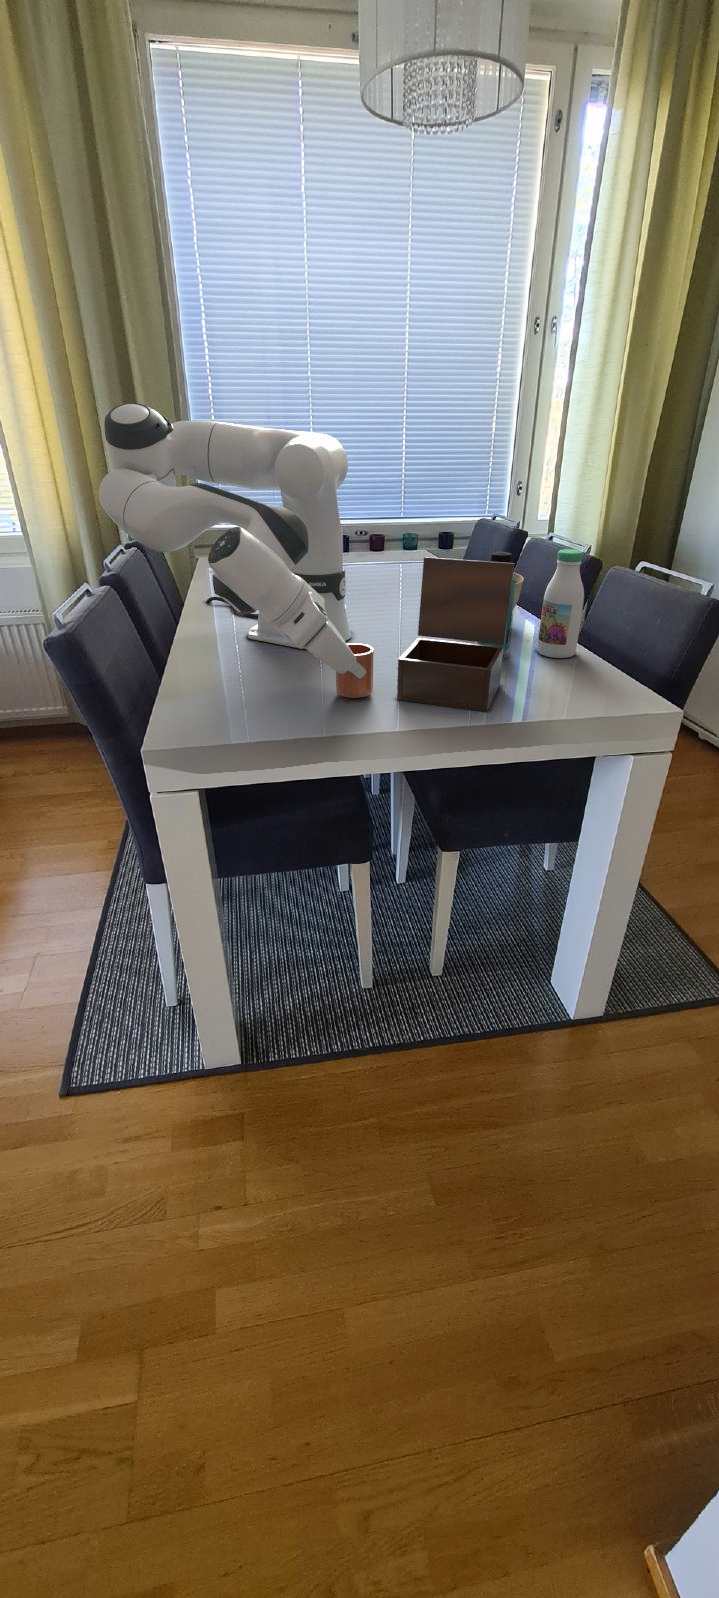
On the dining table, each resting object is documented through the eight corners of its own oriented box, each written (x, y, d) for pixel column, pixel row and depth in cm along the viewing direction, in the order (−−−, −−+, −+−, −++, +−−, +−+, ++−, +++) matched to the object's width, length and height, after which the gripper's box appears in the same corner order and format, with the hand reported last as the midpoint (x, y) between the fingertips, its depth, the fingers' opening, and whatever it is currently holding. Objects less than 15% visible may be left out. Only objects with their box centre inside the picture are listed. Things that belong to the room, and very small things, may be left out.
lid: (513, 563, 116) (517, 562, 120) (423, 557, 121) (430, 556, 125) (503, 644, 121) (507, 640, 125) (417, 635, 126) (423, 632, 130)
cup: (330, 695, 119) (329, 652, 116) (343, 682, 125) (343, 641, 121) (365, 699, 118) (366, 656, 114) (377, 686, 123) (378, 645, 119)
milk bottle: (557, 645, 146) (572, 545, 136) (583, 655, 140) (600, 552, 130) (528, 650, 143) (541, 549, 133) (553, 661, 137) (569, 556, 127)
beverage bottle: (508, 661, 137) (520, 556, 127) (474, 659, 138) (483, 555, 128) (509, 651, 143) (520, 549, 133) (476, 649, 144) (485, 548, 134)
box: (486, 711, 115) (490, 669, 112) (397, 699, 120) (398, 658, 116) (499, 685, 126) (503, 646, 122) (416, 675, 130) (418, 637, 126)
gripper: (278, 610, 122) (333, 660, 128) (294, 646, 104) (357, 701, 111) (302, 583, 120) (357, 635, 127) (322, 614, 103) (385, 672, 110)
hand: (357, 666), depth 119 cm, fingers closed on cup, 6 cm apart
